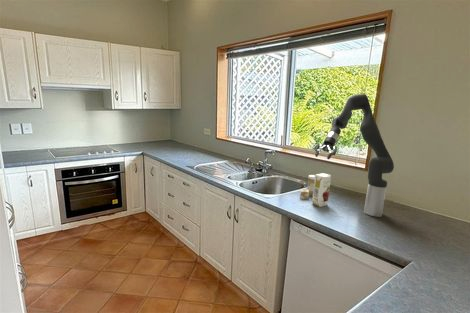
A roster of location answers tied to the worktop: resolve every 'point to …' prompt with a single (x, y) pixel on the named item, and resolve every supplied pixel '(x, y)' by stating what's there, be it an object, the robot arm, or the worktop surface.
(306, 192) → the beech block
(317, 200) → the juice carton
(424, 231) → the worktop surface
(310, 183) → the sprinkles bottle
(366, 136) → the robot arm
